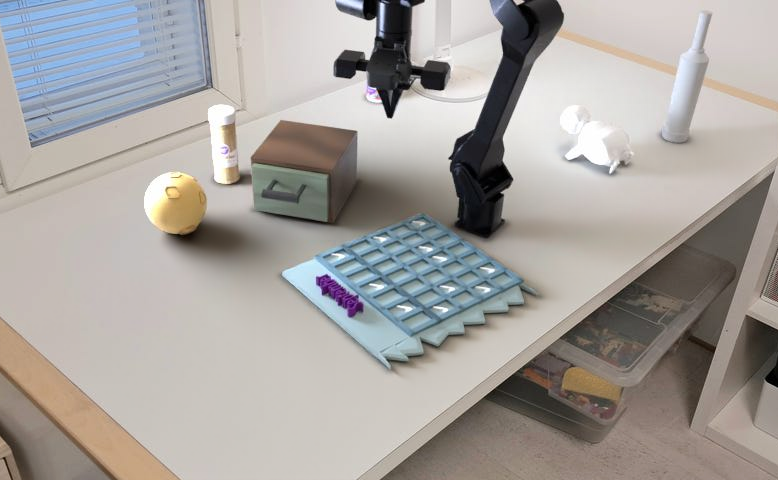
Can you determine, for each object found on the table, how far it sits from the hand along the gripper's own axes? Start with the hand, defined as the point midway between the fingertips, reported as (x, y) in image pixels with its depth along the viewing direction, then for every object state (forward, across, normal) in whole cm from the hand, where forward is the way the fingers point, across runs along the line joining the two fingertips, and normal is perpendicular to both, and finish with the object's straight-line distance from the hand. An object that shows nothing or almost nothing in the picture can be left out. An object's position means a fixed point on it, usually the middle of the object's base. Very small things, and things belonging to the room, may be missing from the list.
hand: (390, 117), depth 149 cm
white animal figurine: (+13, +34, +22) cm, 43 cm away
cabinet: (+13, -12, -8) cm, 20 cm away
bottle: (+13, +50, +35) cm, 62 cm away
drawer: (+12, -13, -12) cm, 21 cm away
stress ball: (+13, -29, -24) cm, 40 cm away
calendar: (+13, +11, -29) cm, 34 cm away
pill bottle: (+13, -11, +35) cm, 39 cm away
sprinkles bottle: (+13, -28, -7) cm, 32 cm away
